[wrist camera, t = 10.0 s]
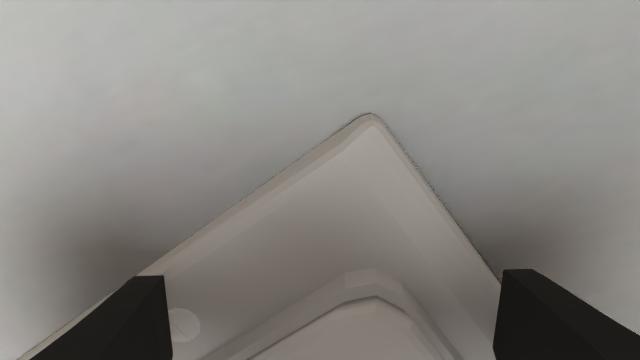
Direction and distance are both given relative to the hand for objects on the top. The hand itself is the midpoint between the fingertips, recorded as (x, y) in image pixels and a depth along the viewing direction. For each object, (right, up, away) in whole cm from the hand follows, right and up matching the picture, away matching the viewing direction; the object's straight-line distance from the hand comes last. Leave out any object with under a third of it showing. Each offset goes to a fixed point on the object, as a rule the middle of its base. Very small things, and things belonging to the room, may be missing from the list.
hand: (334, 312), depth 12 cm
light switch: (-1, -3, +4) cm, 5 cm away
